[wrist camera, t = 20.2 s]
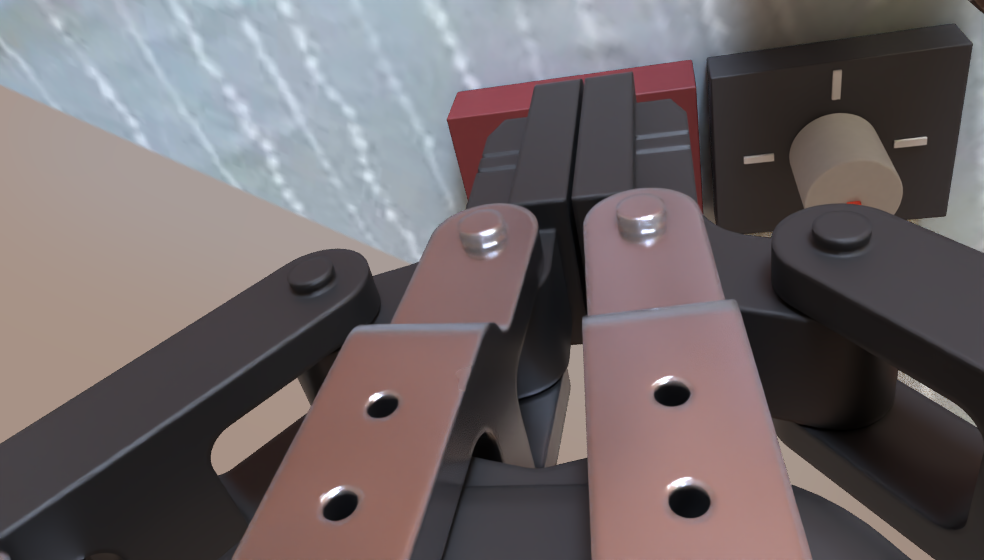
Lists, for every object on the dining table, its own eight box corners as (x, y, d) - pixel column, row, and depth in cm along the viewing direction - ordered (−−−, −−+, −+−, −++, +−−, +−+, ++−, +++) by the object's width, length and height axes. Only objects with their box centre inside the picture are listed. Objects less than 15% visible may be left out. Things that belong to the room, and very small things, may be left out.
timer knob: (787, 120, 37) (804, 171, 34) (879, 105, 36) (907, 156, 33) (790, 191, 40) (806, 246, 36) (877, 180, 39) (902, 236, 35)
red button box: (691, 59, 39) (698, 103, 35) (701, 223, 45) (708, 278, 41) (457, 91, 42) (439, 136, 38) (494, 242, 47) (482, 295, 43)
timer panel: (955, 22, 36) (975, 44, 34) (931, 190, 41) (947, 218, 39) (706, 57, 39) (710, 79, 37) (714, 211, 44) (717, 238, 42)
